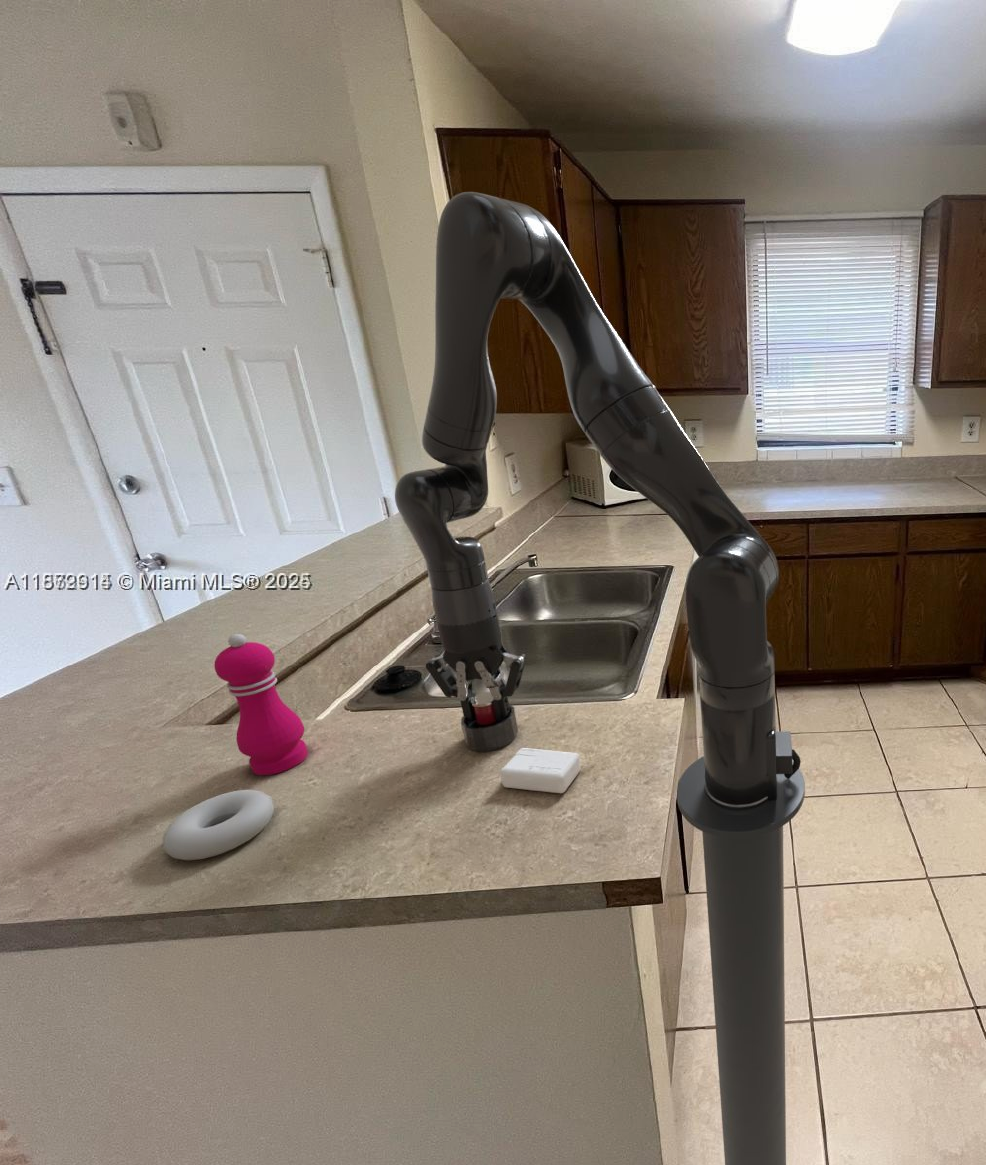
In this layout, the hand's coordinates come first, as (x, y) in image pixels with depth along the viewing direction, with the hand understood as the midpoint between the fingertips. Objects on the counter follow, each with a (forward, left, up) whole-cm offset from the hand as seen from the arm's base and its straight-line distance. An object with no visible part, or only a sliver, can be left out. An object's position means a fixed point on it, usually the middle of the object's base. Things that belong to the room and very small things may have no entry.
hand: (488, 718), depth 88 cm
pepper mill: (+28, +5, -4) cm, 29 cm away
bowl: (0, 0, -3) cm, 3 cm away
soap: (-11, +10, -4) cm, 15 cm away
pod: (0, 0, 0) cm, 0 cm away
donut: (+24, +19, -4) cm, 31 cm away
